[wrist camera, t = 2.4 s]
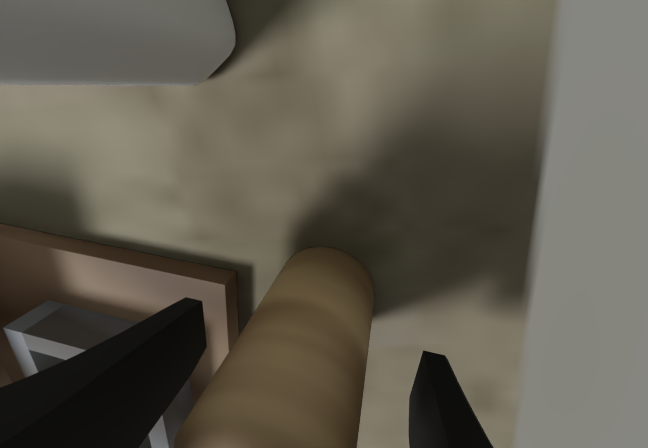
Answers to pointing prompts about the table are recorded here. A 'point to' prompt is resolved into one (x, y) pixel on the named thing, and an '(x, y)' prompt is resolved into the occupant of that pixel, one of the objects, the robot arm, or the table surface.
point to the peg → (293, 363)
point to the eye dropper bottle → (113, 41)
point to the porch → (103, 308)
